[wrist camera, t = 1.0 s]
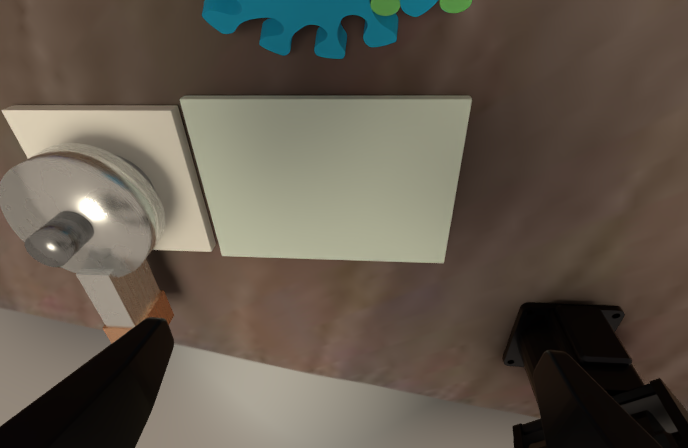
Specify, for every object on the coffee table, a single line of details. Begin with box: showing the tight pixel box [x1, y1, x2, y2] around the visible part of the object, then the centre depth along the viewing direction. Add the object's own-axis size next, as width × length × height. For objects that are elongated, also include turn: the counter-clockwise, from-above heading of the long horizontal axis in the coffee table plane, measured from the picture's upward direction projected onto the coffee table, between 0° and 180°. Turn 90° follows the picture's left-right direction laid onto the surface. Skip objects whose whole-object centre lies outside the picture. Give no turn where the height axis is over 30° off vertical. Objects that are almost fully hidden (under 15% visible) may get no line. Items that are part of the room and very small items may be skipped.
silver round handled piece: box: [0, 143, 174, 343], centre depth 21 cm, size 13×7×5 cm, turn 1°
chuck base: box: [2, 105, 216, 252], centre depth 21 cm, size 9×9×2 cm
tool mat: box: [180, 95, 472, 263], centre depth 21 cm, size 10×14×1 cm
